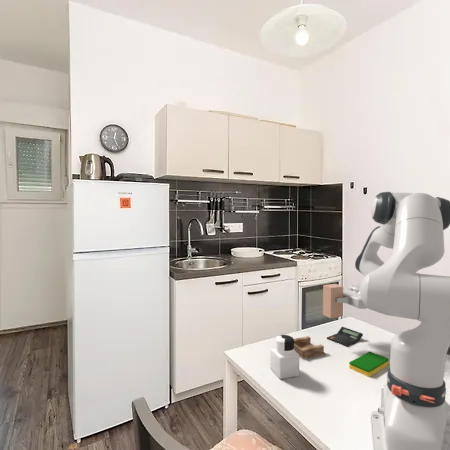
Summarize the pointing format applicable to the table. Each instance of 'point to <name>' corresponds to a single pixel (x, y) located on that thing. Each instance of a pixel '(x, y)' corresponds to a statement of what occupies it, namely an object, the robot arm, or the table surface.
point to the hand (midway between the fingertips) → (331, 298)
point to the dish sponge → (369, 363)
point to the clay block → (332, 300)
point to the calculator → (346, 337)
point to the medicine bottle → (284, 358)
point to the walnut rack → (307, 348)
